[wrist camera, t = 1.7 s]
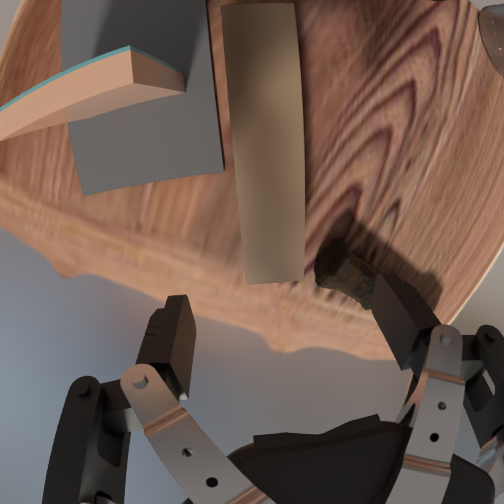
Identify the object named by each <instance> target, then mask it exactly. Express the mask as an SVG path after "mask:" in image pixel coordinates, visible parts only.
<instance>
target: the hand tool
mask: <svg viewBox="0 0 504 504" xmlns="http://www.w3.org/2000/svg"><path fill="white" fill-rule="evenodd" d="M314 272H315V281H316V283H317V285H318V286H319V287H322V288H327V289H332V288H333V289H337V290H339V291H341V292H343V293H344V294H346V295H348V296H350V297H352V298H354V299H355V300H356V301H357V302H359V303H360V304H361V305H362V307H363V308H364V309H365V310H369V309H371V302H372V297H373V292H374V287H375V282H376V277H377V275H378V274H382V273H380V272H379V271H378V270H377V269H376V268H374V267H373V266H372V265H369V264H368V263H367V262H365V261H363V260H361V259H360V258H359V257H357V256H356V255H355V254H353V253H352V252H351V251H350V249H349V246H348V245H347V243H346V242H345V241H344V239H343V238H336V239H334V240H333V241H332V242H331V243H330V244H329V246H328V247H326V248H325V249H324V250H323V252H322V253H321V255H320V256H319V258H318V260H317V261H316V264H315V267H314Z"/></svg>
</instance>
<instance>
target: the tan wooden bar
mask: <svg viewBox="0 0 504 504" xmlns="http://www.w3.org/2000/svg"><path fill="white" fill-rule="evenodd" d="M221 14H222V27H223V40H224V52H225V65H226V77H227V88H228V100H229V111H230V123H231V134H232V145H233V156H234V167H235V177H236V188H237V198H238V209H239V219H240V229H241V239H242V249H243V259H244V269H245V279H246V285H252V284H264V283H276V282H288V281H298V280H304V249H305V158H304V127H303V105H302V87H301V73H300V59H299V48H298V37H297V27H296V17H295V9H294V3H249V4H233V5H223V6H221Z"/></svg>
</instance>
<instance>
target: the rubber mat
mask: <svg viewBox="0 0 504 504" xmlns="http://www.w3.org/2000/svg"><path fill="white" fill-rule="evenodd" d="M129 45H131V46H133V47H135V48H137V49H139V50H141V51H143V52H145V53H147V54H149V55H151V56H154V57H155V58H157V59H159V60H161V61H163V62H165V63H167V64H169V65H171V66H173V67H175V68H177V69H178V70H180V71H182V72H183V76H184V85H185V93H182V94H176V95H171V96H167V97H162V98H157V99H153V100H149V101H145V102H141V103H137V104H133V105H129V106H126V107H122V108H119V109H115V110H112V111H109V112H106V113H102V114H99V115H96V116H93V117H90V118H87V119H82V120H77V121H72V122H68V127H69V133H70V139H71V144H72V149H73V154H74V159H75V164H76V168H77V172H78V177H79V181H80V185H81V189H82V192H83V196H86V195H91V194H95V193H99V192H104V191H109V190H113V189H118V188H123V187H128V186H133V185H139V184H144V183H150V182H155V181H161V180H167V179H174V178H180V177H187V176H194V175H201V174H209V173H217V172H224V165H223V157H222V149H221V141H220V132H219V124H218V115H217V106H216V98H215V89H214V80H213V70H212V61H211V51H210V41H209V31H208V21H207V10H206V0H62V7H61V64H62V72H63V71H65V70H67V69H69V68H72V67H74V66H76V65H78V64H81V63H83V62H85V61H88V60H90V59H93V58H95V57H98V56H100V55H103V54H106V53H108V52H111V51H114V50H117V49H120V48H123V47H126V46H129Z"/></svg>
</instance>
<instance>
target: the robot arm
mask: <svg viewBox="0 0 504 504" xmlns="http://www.w3.org/2000/svg"><path fill="white" fill-rule="evenodd" d="M479 26H480V32H481V36H482V39H483V42H484V45H485V48H486V50H487V52H488V55H489V57H490V59H491V61H492V62H493V64H494V66H495V67H496V69H497V70H498V72H499V73H500V74H501V75H502V76H503V77H504V4H499V5H491V6H486V7H484V8H483V9H482V10H481V11H480V15H479ZM371 309H372V313H373V316H374V318H375V320H376V322H377V324H378V325H379V327H380V329H381V331H382V333H383V335H384V337H385V339H386V341H387V343H388V345H389V347H390V349H391V351H392V353H393V355H394V357H395V359H396V361H397V363H398V365H399V367H400V369H401V371H402V370H406V369H409V368H411V369H412V371H413V373H412V374H411V377H410V380H409V384H408V387H407V391H406V394H405V397H404V400H403V403H402V406H401V409H400V412H399V414H398V416H397V418H396V420H395V422H390V421H380V418H379V416H378V414H375V415H372V416H368V417H364V418H360V419H356V420H352V421H349V422H347V423H345V424H343V425H341V426H338V427H336V428H334V429H332V430H330V431H327V432H325V433H323V434H319V435H316V434H299V433H287V432H285V433H277V434H266V435H255V436H253V438H254V443H251V444H248V445H246V446H243V447H241V448H239V449H237V450H235V451H234V452H232V453H231V454H229V455H228V456H227V457H226V456H225V455H224V454H223V453H222V452H221V451H220V450H219V448H218V447H217V446H216V445H215V444H214V443H213V442H212V441H211V439H210V438H209V437H208V436H207V435H206V434H205V432H204V431H203V430H202V429H201V428H200V426H199V425H198V424H197V423H196V422H195V420H194V419H193V418H192V417H191V416H190V414H189V413H188V412H187V410H186V409H184V408H183V407H182V406H181V405H180V403H179V400H188V397H189V388H190V379H191V370H192V363H193V355H194V347H195V339H196V326H195V321H194V317H193V314H192V310H191V307H190V303H189V300H188V297H187V295H173V296H168V298H167V301H166V304H165V308H160V309H157V310H156V311H155V312H154V313H153V315H152V316H151V317H150V320H149V323H148V326H147V329H146V332H145V336H144V338H143V341H142V345H141V348H140V351H139V354H138V358H137V361H136V364H135V365H134V366H132V367H130V368H128V369H127V370H126V371H125V372H124V373H123V375H122V377H121V379H119V380H115V381H111V382H106V383H102V384H100V383H99V381H98V380H97V379H96V378H94V377H92V376H83V377H80V378H78V379H77V380H75V381H74V382H73V383H72V385H71V386H70V388H69V391H68V394H67V397H66V400H65V404H64V407H63V410H62V414H61V417H60V420H59V424H58V427H57V431H56V435H55V439H54V443H53V447H52V451H51V455H50V460H49V464H48V469H47V474H46V480H45V486H44V493H43V499H42V504H124V496H125V482H126V471H127V461H128V452H129V444H130V436H131V432H132V431H137V430H142V429H144V433H145V436H146V437H147V439H148V441H149V442H150V444H151V445H152V447H153V449H154V450H155V451H156V453H157V455H158V456H159V458H160V459H161V461H162V462H163V464H164V465H165V467H166V468H167V469H168V471H169V472H170V474H171V475H172V476H173V477H174V479H175V480H176V482H177V483H178V484H179V486H180V487H181V488H182V489H183V491H184V492H185V493H186V495H188V498H187V499H186V500H185V501H184V502H183V503H182V504H494V500H495V497H497V496H498V495H499V494H501V493H502V492H504V337H503V335H502V334H501V333H500V331H499V330H498V329H497V328H495V327H493V326H491V325H482V326H481V327H479V329H478V331H477V333H476V335H461V334H460V332H459V331H458V330H457V329H456V328H454V327H452V326H450V325H445V324H441V323H440V321H439V320H438V318H437V317H436V316H435V314H434V313H433V311H432V310H431V309H430V307H429V306H428V305H427V303H425V301H424V299H423V298H422V297H420V294H419V293H418V292H417V290H416V289H415V288H414V287H413V286H411V285H410V284H408V283H407V282H402V280H401V279H400V278H399V276H398V275H397V274H396V273H395V272H389V273H383V274H378V275H377V277H376V282H375V287H374V292H373V297H372V302H371ZM486 370H487V372H488V374H489V376H490V377H491V379H492V381H493V383H494V385H495V394H494V396H493V394H492V392H491V390H490V388H489V386H488V384H487V382H486V380H485V378H484V376H483V374H484V372H485V371H486ZM462 405H463V406H464V408H465V410H466V413H467V415H468V417H469V420H470V422H471V425H472V427H473V430H474V433H475V435H476V438H477V441H478V443H479V446H480V449H481V450H480V453H479V459H478V460H477V461H476V465H474V464H472V463H470V462H468V461H466V460H464V459H462V458H461V457H459V456H457V455H455V454H453V450H454V446H455V442H456V438H457V433H458V428H459V423H460V418H461V412H462Z"/></svg>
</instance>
